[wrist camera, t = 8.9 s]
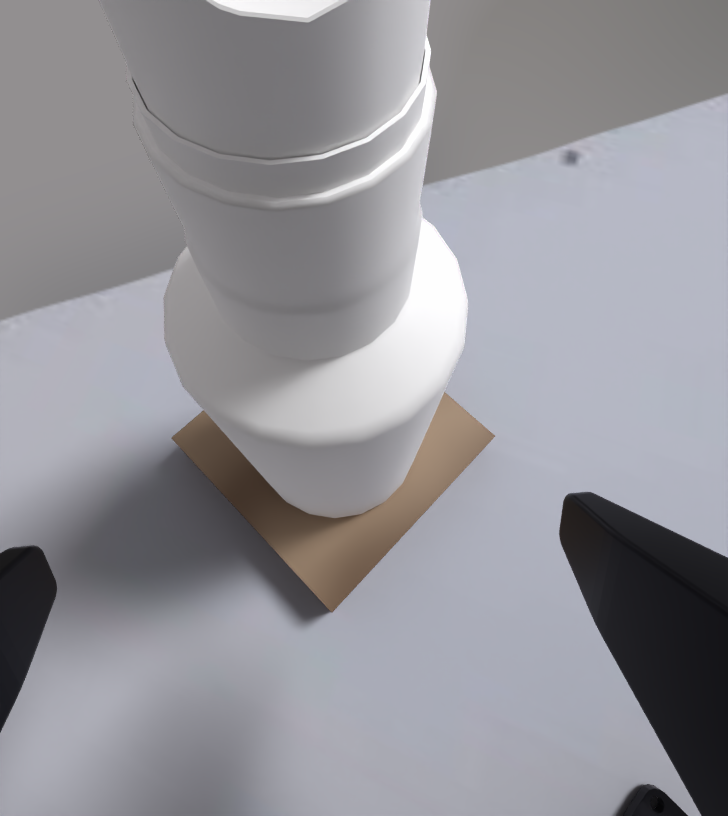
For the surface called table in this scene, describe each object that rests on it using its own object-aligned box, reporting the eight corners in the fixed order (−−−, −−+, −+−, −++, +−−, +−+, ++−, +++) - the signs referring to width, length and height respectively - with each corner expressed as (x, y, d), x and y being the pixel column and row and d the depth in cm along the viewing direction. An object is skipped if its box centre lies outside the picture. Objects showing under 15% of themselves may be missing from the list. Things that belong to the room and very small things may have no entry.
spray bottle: (385, 351, 22) (468, -358, 6) (438, 489, 20) (841, 14, 3) (242, 392, 22) (-169, -286, 5) (280, 541, 19) (-234, 260, 3)
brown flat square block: (484, 448, 23) (495, 436, 21) (334, 610, 20) (331, 612, 19) (337, 318, 25) (335, 297, 23) (186, 450, 23) (171, 438, 21)
